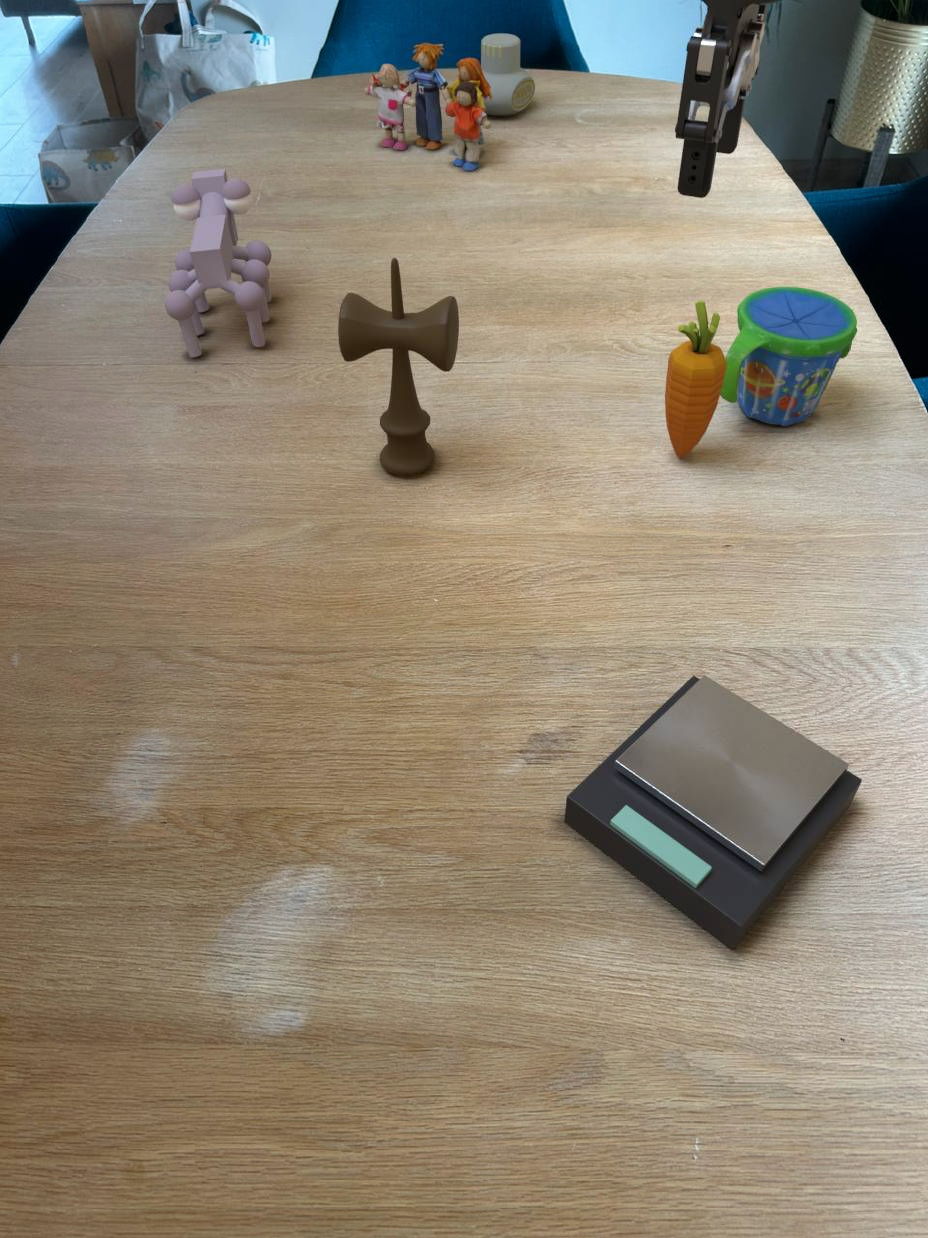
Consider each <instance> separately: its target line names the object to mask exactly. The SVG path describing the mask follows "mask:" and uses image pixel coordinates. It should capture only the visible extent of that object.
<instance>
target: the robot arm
mask: <svg viewBox="0 0 928 1238" xmlns="http://www.w3.org/2000/svg"><path fill="white" fill-rule="evenodd" d="M700 1H701V2H703V4H705V5H706V14H705V16H704V20H703V24H702V27H699V26H697V27H696V28H695V31H694V34H693V35H691V36H690V37H689V41H688V42H687V44H686V48H685V49H686V52H687V53H686V56H685V57H686V58H685V64H684V65H685V67H684V70H683V79H682V85H681V93H680V98H679V99H680V100H679V105H678V113H677V121H676V124H675V127H674V132H675V139H679V140H683V145H682V152H681V158H680V159H681V160H680V166H679V174H678V182H677V192H678V193H679V194H680V195H681V196H684V197H685V196H686V197H692V198H698V199H704V198H706V197H707V196H708V195H709V193H710V191H711V189H712V184H713V177H714V170H715V165H716V158H717V154H725V155H731V154H733V153H735V150H736V149H737V147H738V144H739V137H740V132H741V126H742V121H743V115H744V109H745V103H746V99H745V98H748V97H749V93H751V92H752V87H753V84H752V81H754V80H755V79H756V76H758V74H759V70H760V69H759V68H760V67H758V66H759V62H760V55H761V50H762V43H763V38H764V35H765V25H766V20H767V14H768V7H769V5H771V4H775V3H779V2H781V1H783V0H700ZM742 97H743V98H742ZM700 107H709V109H708V110H709V111H708V117H707V121H706V120H705V121H704V120H698V119H696V116H697V112H698V109H699V108H700Z"/></svg>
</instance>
